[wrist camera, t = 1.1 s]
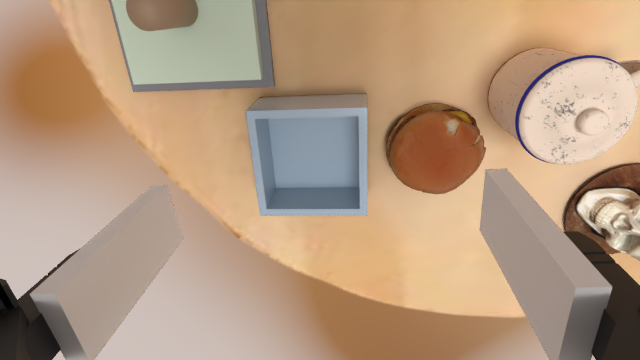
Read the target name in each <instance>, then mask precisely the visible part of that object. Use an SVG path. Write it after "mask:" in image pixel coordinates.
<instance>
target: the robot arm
mask: <svg viewBox="0 0 640 360" xmlns="http://www.w3.org/2000/svg"><path fill="white" fill-rule="evenodd" d="M480 231H481V233H482V235H483V237H484V239H485V241H486V243H487V244H488V246H489V248H490V250H491V252H492V254H493V256H494V257H495V259H496V261H497V263H498V265H499V267H500V269H501V270H502V272H503V274H504V276H505V278H506V280H507V282H508V283H509V285H510V287H511V289H512V291H513V293H514V295H515V297H516V298H517V300H518V302H519V304H520V306H521V308H522V310H523V311H524V313H525V315H526V317H527V319H528V320H529V322H530V324H531V326H532V328H533V330H534V332H535V334H536V336H537V337H538V339H539V341H540V343H541V345H542V347H543V349H544V351H545V352H546V354H547V356H548V358H549V360H591V357H592V354H593V356H594V357H595V359H596V360H640V285H639V284H638V283H637V282H636V281H635V280H634V279H633V278H632V277H631V276H630V275H629V274H628V273H627V272H626V271H625V270H624V269H623V268H622V267H621V266H620V265H619V264H616V263H615V260H614V259H613V258H612V257H611V256H610V255H609V254H606V251H605V250H604V249H603V248H602V247H601V246H600V245H599V244H598V243H597V242H596V241H594V240H593V239H591V238H589V237H587V236H586V235H584V234H582V233H580V232H578V231H572V232H563V231H562V230H561V229H560V228H559V227H558V226H557V224H556V223H555V222H554V221H553V220H552V219H551V218H550V217H549V216H548V214H547V213H546V212H545V211H544V210H543V209H542V208H541V207H540V206H539V204H538V203H537V202H536V201H535V200H534V199H533V198H532V197H531V195H530V194H529V193H528V192H527V191H526V190H525V189H524V188H523V187H522V185H521V184H520V183H519V182H518V181H517V180H516V179H515V178H514V177H513V175H512V174H511V173H510V172H509V171H508V170H507V169H488V170H486V171H485V181H484V191H483V201H482V211H481V221H480ZM182 240H183V235H182V232H181V229H180V225H179V222H178V219H177V216H176V212H175V209H174V205H173V202H172V199H171V195H170V192H169V189H168V186H151V187H150V188H148V189H147V190H146V191H145V192H144V193H143V194H142V195H141V196H140V197H138V198H137V199H136V200H135V201H134V202H133V203H132V204H130V206H128V207H127V208H126V209H125V210H124V211H123V212H122V213H120V214H119V215H118V216H117V217H116V218H115V219H114V220H112V221H111V222H110V223H109V224H108V225H107V226H106V227H105V228H103V229H102V230H101V231H100V232H99V233H98V234H97V235H95V236H94V237H93V238H92V239H91V240H90V241H89V242H88V243H87V244H85V245H84V246H83V247H82V248H81V249H79V250H77V251H75V252H74V253H72V254H70V255H69V256H67V257H66V258H65V259H64V260H63V261H62V262H61V263H60V264H58V265H57V267H55V268H54V269H53V270H51V271H50V272H49V273H48V275H47V276H44V277H43V279H41V280H40V281H39V282H38V283H36V285H34V286H33V287H32V288H31V289H30V290H28V291H27V292H26V293H25V294H24V295H23V296H22V297H21V298H19V299H18V300H17V299H16V297H15V296H14V294H13V292H12V290H11V289H10V287H9V285H8V283H7V282H6V280H3V279H0V360H52V359H53V358H54V357H55V356H56V354H57V353H58V352H59V351H60V350H61V352H62V354H63V356H64V357H65V359H66V360H94V359H95V358H96V357H97V355H98V354H99V353H100V351H101V350H102V349H103V347H104V346H105V345H106V343H107V342H108V341H109V339H110V338H111V336H112V335H113V334H114V332H115V331H116V330H117V328H118V327H119V326H120V324H121V323H122V322H123V320H124V319H125V318H126V316H127V315H128V313H129V312H130V311H131V309H132V308H133V307H134V305H135V304H136V303H137V301H138V300H139V298H140V297H141V296H142V294H143V293H144V292H145V290H146V289H147V287H148V286H149V285H150V284H151V282H152V281H153V280H154V278H155V277H156V275H157V274H158V273H159V271H160V270H161V269H162V267H163V266H164V265H165V263H166V262H167V261H168V259H169V258H170V256H171V255H172V254H173V252H174V251H175V250H176V248H177V247H178V246H179V244H180V243H181V241H182Z"/></svg>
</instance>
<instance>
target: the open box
mask: <svg viewBox="0 0 640 360" xmlns="http://www.w3.org/2000/svg"><path fill="white" fill-rule="evenodd" d="M246 118H247V125H248V132H249V139H250V146H251V154H252V161H253V168H254V175H255V182H256V189H257V196H258V203H259V210H260V216H367V99H366V94H338V95H309V96H280V97H260V98H259V99H258V100H257V101H256V102H255V103H254V104H253V105H252V106H250V107H249V108H248V109H247V110H246Z"/></svg>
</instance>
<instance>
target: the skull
mask: <svg viewBox="0 0 640 360" xmlns="http://www.w3.org/2000/svg"><path fill="white" fill-rule="evenodd" d="M565 227H566V228H565V229H566V232H572V231H578V232H580V233H582V234H584V235H586V236H587V237H589V238H591V239H593V240H594V241H596V242H597V243H598V244H599V245H600V246H601V247H602V248H603V249H604V250H605V251H606V254H614V253H619V252H620V253H621V252H623V253H627V254H629V255H630V256H632V257H634V258H636V259H637V260H639V261H640V164H636V165H627V166H623V167H620V168H616V169H614V170H613V169H612V170H611V171H608V172H606V173H604V174H602V175H600V176H599V177H597V178H595V179H594V180H592V181H591V182H589V183H588V184H587V185H586V186H585V187H584V188H583V189H581V190H580V191H579V192H578V193H577V195H576V196H574V199H573V200H572V202H571V203H570V205H569V208H568V210H567V214H566V220H565Z"/></svg>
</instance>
